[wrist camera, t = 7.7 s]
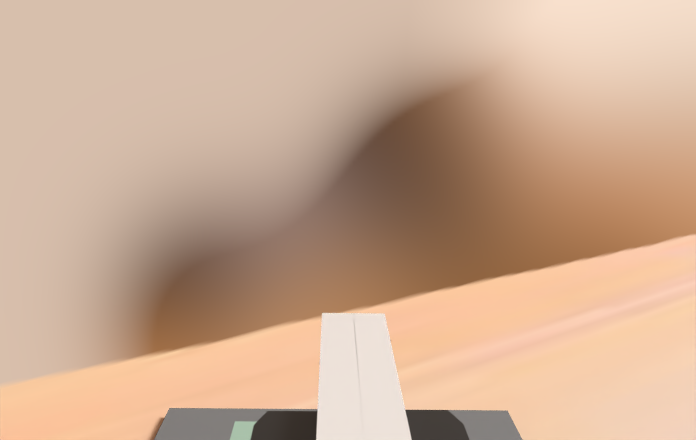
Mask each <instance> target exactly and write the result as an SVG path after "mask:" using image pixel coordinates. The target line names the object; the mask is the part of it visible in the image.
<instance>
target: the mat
mask: <svg viewBox="0 0 696 440" xmlns="http://www.w3.org/2000/svg"><path fill="white" fill-rule="evenodd" d="M267 411H318V409H212V408H169V410H168V412H167V414H166V416H165V418H164V421H163V423H162V425H161V427H160V429H159V431H158V433H157V435H156V437H155V439H154V440H230V437H231V434H232V430H233V427H234V423H235V421H253V422H257V421H258V420H259V419H260V418H261V417H262V416H263V415H264V414H265V413H266V412H267ZM448 411H449V412H451V413H452V414H453V415H454V416H455V417H456V418H457V419H458V420H460V421H461V422H462V423H463V424H464V426H465V429H466V432H467V434H468V437H469V440H522V438H521V436H520V434H519V432H518V430H517V428H516V427H515V425H514V423H513V421H512V419H511V417H510V415H509V413H508V411H482V410H448Z"/></svg>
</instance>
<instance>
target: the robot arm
mask: <svg viewBox="0 0 696 440" xmlns="http://www.w3.org/2000/svg"><path fill="white" fill-rule="evenodd" d="M250 440H469V437H468V434H467V432H466V429H465V426H464V424H463V423H462V422H461V421H460V420H458V419H457V418H456V417H455V416H454V415H453V414H452V413H451V412H449V411H448V410H405V406H404V402H403V397H402V392H401V388H400V383H399V378H398V374H397V369H396V364H395V360H394V355H393V351H392V346H391V341H390V337H389V332H388V327H387V323H386V318H385V314H366V313H322V326H321V348H320V369H319V390H318V411H267V412H266V413H265V414H264V415H263V416H262V417H261V418H260V419H259V420H258V421H257V422H256V423H255V424H254V426H253V431H252V435H251V439H250Z"/></svg>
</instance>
